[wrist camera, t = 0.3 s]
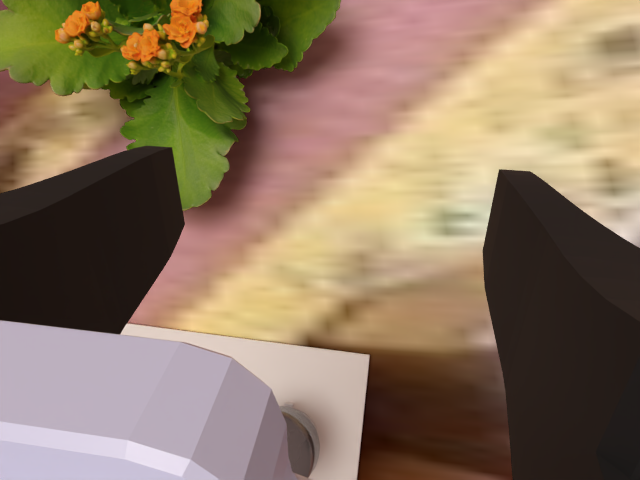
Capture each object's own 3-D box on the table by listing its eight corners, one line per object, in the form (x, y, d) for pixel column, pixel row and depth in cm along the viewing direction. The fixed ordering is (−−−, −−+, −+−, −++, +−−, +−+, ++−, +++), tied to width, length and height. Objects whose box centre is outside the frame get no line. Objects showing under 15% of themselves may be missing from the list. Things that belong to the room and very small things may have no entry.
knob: (314, 494, 35) (303, 514, 31) (238, 480, 36) (218, 498, 32) (324, 412, 36) (314, 421, 32) (249, 400, 36) (230, 409, 33)
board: (347, 574, 37) (340, 600, 34) (86, 521, 41) (55, 539, 37) (369, 354, 39) (366, 357, 36) (120, 322, 43) (94, 321, 39)
